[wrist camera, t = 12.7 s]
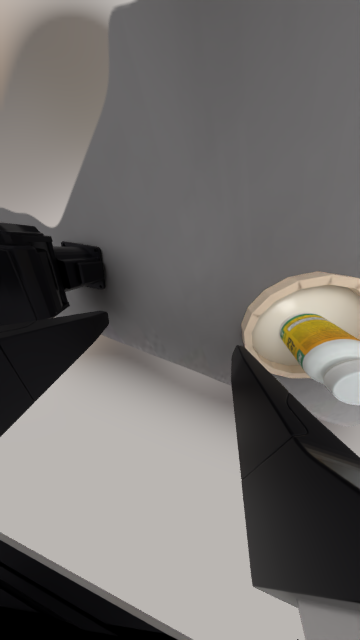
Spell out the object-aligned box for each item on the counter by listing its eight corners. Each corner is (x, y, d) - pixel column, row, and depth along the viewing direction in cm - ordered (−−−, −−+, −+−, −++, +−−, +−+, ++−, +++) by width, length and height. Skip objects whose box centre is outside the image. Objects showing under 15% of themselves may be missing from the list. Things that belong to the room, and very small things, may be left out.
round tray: (229, 353, 24) (230, 363, 22) (265, 263, 17) (272, 265, 15) (323, 376, 23) (334, 389, 20) (407, 284, 15) (437, 290, 13)
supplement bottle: (331, 333, 19) (427, 401, 10) (288, 350, 21) (337, 417, 13) (313, 302, 17) (404, 352, 9) (270, 324, 20) (311, 379, 11)
